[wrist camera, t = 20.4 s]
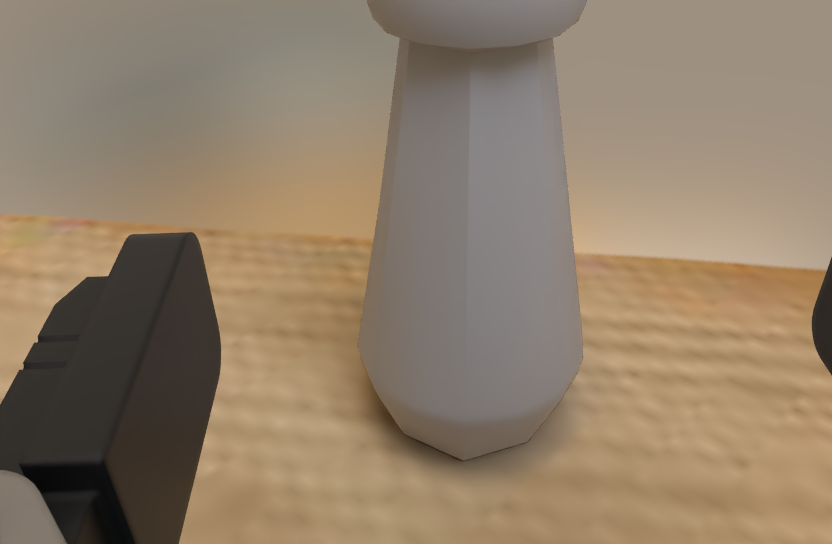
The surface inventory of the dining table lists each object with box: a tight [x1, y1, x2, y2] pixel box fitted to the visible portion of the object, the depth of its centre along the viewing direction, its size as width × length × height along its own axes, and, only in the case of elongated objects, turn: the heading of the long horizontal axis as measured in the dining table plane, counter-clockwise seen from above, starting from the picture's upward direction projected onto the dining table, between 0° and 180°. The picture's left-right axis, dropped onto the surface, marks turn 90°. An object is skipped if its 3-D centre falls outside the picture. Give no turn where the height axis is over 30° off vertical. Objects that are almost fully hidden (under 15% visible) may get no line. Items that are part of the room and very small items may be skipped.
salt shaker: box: [358, 0, 587, 461], centre depth 18 cm, size 6×6×13 cm
